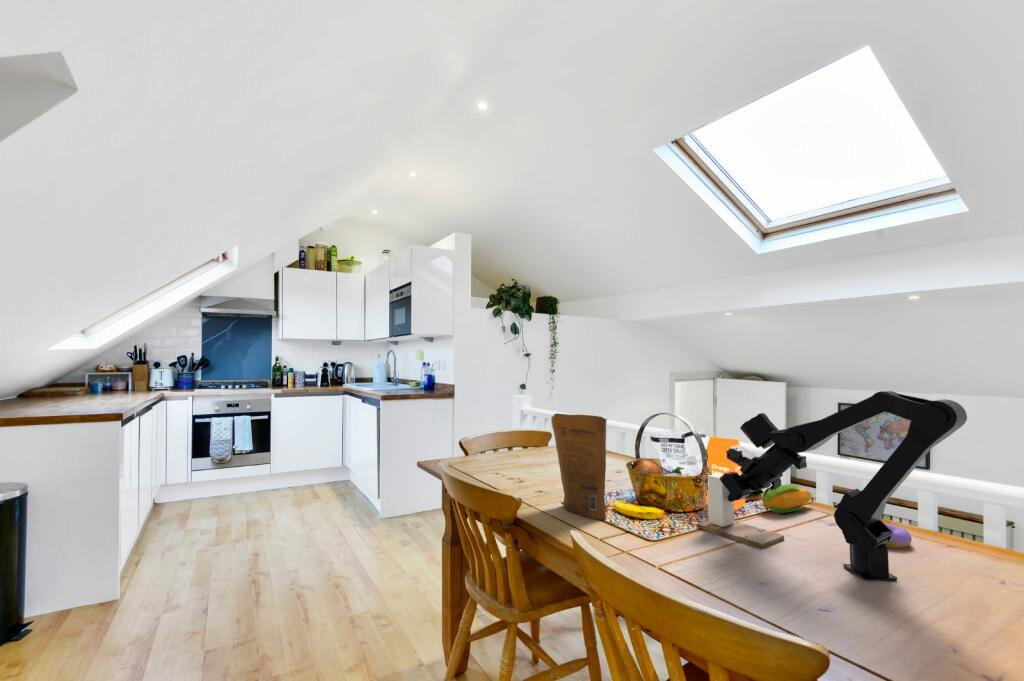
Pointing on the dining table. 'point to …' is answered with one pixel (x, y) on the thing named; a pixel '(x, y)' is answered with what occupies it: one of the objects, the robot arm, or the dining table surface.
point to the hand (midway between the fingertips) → (729, 499)
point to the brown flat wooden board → (744, 533)
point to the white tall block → (719, 502)
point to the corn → (785, 498)
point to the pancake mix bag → (582, 462)
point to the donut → (898, 537)
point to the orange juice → (722, 460)
